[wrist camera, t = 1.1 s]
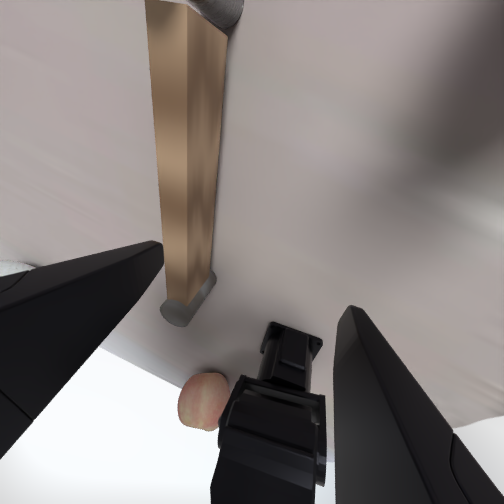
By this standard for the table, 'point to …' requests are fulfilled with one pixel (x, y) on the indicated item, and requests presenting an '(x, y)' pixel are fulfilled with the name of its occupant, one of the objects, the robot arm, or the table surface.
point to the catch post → (220, 10)
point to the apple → (203, 400)
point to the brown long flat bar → (186, 146)
